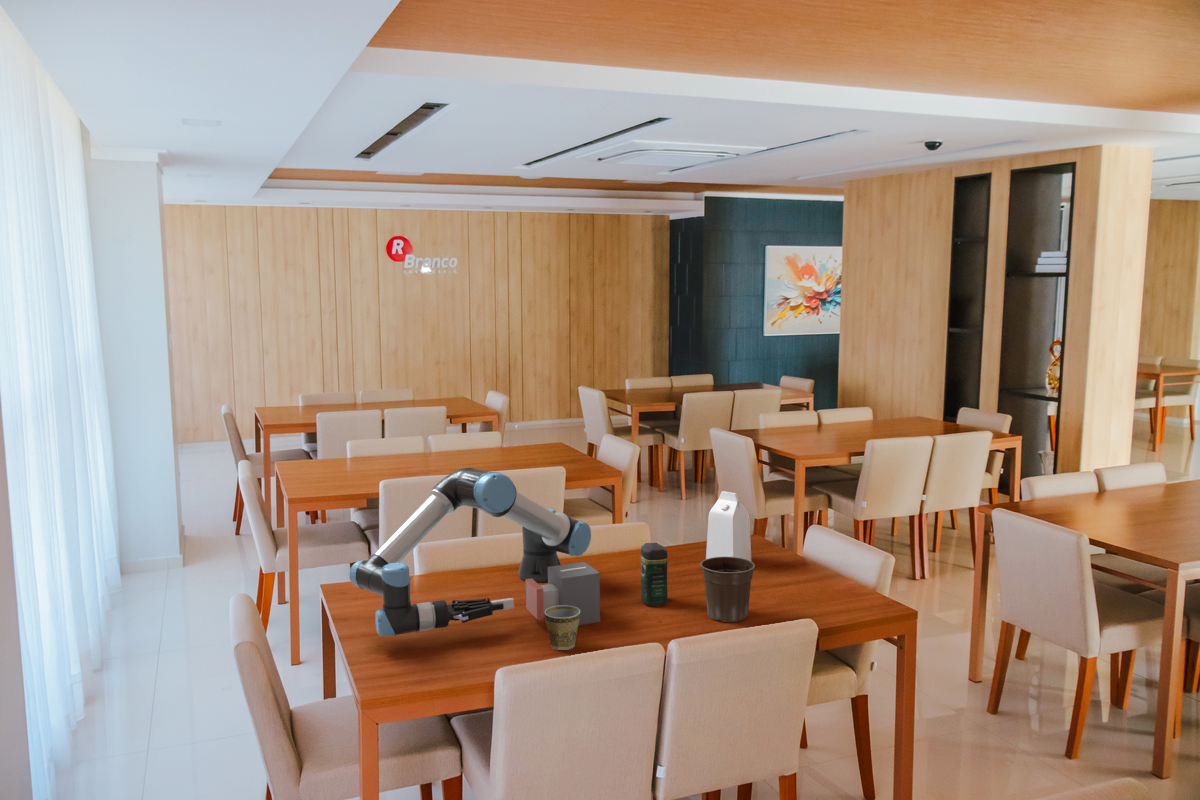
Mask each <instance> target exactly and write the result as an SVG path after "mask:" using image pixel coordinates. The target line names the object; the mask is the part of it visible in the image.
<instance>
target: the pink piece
mask: <svg viewBox="0 0 1200 800" xmlns="http://www.w3.org/2000/svg"><path fill="white" fill-rule="evenodd" d="M525 602H526V603H525V604H526V605H525V609H527V611H529V613H530V614H531V615H532V616H533V617H534V618H535V619H536V620H543V619H545V615H544V611H545V610H546V609H548V608H550V607H553V606H558V605H559V589H558V588H557V587H556V586H555V585H553V584H548V583H545V584H539V582H536V581H534V580H533V579H532V578H531V579H526V580H525Z"/></svg>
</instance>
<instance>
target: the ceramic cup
mask: <svg viewBox="0 0 1200 800" xmlns="http://www.w3.org/2000/svg"><path fill="white" fill-rule="evenodd" d="M579 619H580V609H578V608H577V607H574V606H569V605H558V606H553V607H550V608H548V609H545V610H544V620H545V624H546V627H547V631H548V637H549V641H550V646H551V647H550V648H551V649H552V648H554V649H553V650H555V649H556V650H555V651H558V650H568V651H569V649H570V650H572V649H574V648H575V645H576V639H577V633H578V627H579V625H578V624H579ZM573 647H574V648H573ZM571 648H572V649H571Z"/></svg>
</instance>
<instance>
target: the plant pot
mask: <svg viewBox="0 0 1200 800" xmlns="http://www.w3.org/2000/svg"><path fill="white" fill-rule="evenodd" d="M700 567H701V569H702V570H701V571H702V577H703V579H704V580H703V581H704V589H705V599H706V601H705V602H706V609H707V617H708V618H710V619H712V620H714V621H721V622H723V623H739V622H742V621H744V620H746V618H748V617H749V609H750V607H749V606H750V594H751V585H752V580H753V574H754V569H755V567H756V564H755V563H754V562H753V561H752V560H751V561H749V560H747V559H743V558H737V557H714V558H709V559H706V558H705V559H703V560H702V561H701V562H700Z"/></svg>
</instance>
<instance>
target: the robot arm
mask: <svg viewBox="0 0 1200 800" xmlns="http://www.w3.org/2000/svg"><path fill="white" fill-rule="evenodd" d="M462 506H465V507H470V508H474V509H478V510H480V511H483V512H485V513H486V514H488V515H490V516H492V517H495V518H502V517H504V518H506V519H509V520H510V521H512V522H513V523H516V524H517V525H519V526H522V544H523V545H522V547H523V548H522V557H521V561H520V565H519V568H518V578H520V579H521V580H523V581H526V579H531V578H532V579H533V580H534V581H536V582H537V583H543V582H548V567H551V566H558V565H562V564H561V560H560V559H559V556H558V554H557V553H562V554H566V555H570V556H571V557H572V556H573V557H574V556H575V557H579V556H582V555H583V554H584V553H585V552H586V551H587V550H588V549H589V546H590V544H591V540H592V530H591V529H592V528H591V527H590V525H589V523H588V522H585V521H583V520H577V519H575V518H573V517H571V516H569V515H568V514H566V513H563V512H561V511H560V512H559V511H558V512H557V511H556V509H553V508H546V507H545V506H543V505H541V504H539V503H538V502H536V501H534V500H532V499H530V498H529V497H527V496H525V495H523V494H521V493H520V492H518V489H517V487H516V485H515V483H514V482H513V480H512V479H511V478H510V477H508V476H507V475H506V474H503V473H501V472H498V471H489V470H483V469H478V468H473V467H463V468H459V469H457V470H454V471H453V472H451V473H450V474H448V475H446V476H445V477H444V478H442V479H441V480H440V481H439V482H438V483H437V484H436V485H434V486H433V488H431V489H430V491H429V492H428V497H427V498H426V499H425V500H424V501H423V502H422V503H421V505H419V506H418V507H417V509H415V510H414V511H413V513H412V514H411V515H410V516H408V518H407V519H406V520H405V521H404V522H403V523H401V525H400V526H399V527H398V528H397V529H396V530H395V531H394V532H393V533H392V534H391V535H390V536H389V537H388V538H387V539H386V540H385V541H384V543H383V544H381V546H379V547H378V548H377V550H376V551H374V553H373V554H372V555H371V556H369V558H368V559H366V560H363V559H362V560H358V561H356V562H355V563H353V564H352V566H351V567H350V570H349V573H348V575H349V579H350V581H351V583H352V584H353V585H355V586H356V587H358V588H360V589H361V590H366V591H369V592H372V593H374V594H376V595H379V596H382V608H380V609H377V610H376V611H375V614H374V615H375V617H374V619H375V629H376V633H377V635H378V636H379V637H383V638H385V637H390V636H391V637H392V636H395V637H396V636H398V635H399V636H400V635H405V634H410V633H417V632H421V633H424V632H426V631H428V630H429V631H430V630H432V629H433V628H434V629H442V628H443V629H444V628H447V627H448V626H449V622H450V621H454V622H456V621H460V620H461V623H463V624H465V623H468V622H470V621H473V620H478V619H481V618H485V617H489V616H493V614H494V613H493V612H499V611H506V610H511V609H512V610H513V609H515V599H514V598H513V597H507V598H501V599H495V600H491V598H489V597H487V598H479V599H477V598H475V599H465V600H464V599H462V600H458V599H457V600H456V599H453V600H452V601H451V604H450V603H449V604H447V601H446V600H444V599H441V600H440V599H439V600H435V601H432V602H430V601H426V602H420V603H415V604H411V603H412V602H411V601H412V600H411V576H410V567H409V565H408V564H406V563H404V562H403V561H404V560H405V559H406V558H407V557H408V555H410V554H411V552H412V551H413V550H414V549H415V548H416V547H418V545H419V544H420V543H421V542H422V541H423V540H424V539H425V537H427V535H429V534H430V532H431V531H433V529H434V528H436V526H437V525H438V524H439V523H440V522H441V521H442V519H444V518H445V517H446V515H447V514H449V515H450V514H453V513H454V512H455V511H456V510H457V509H458V508H460V507H462Z"/></svg>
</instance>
